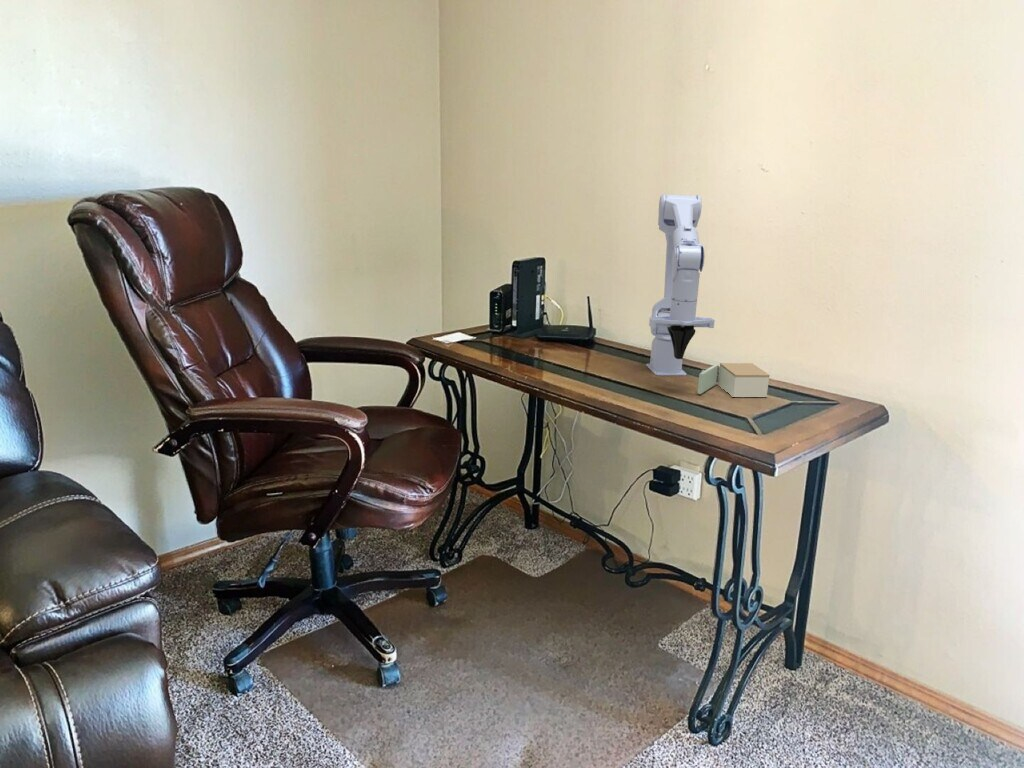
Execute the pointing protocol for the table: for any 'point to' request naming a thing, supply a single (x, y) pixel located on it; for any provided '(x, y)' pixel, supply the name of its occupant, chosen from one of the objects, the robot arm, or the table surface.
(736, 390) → the cabinet
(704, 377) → the door
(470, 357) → the table surface
